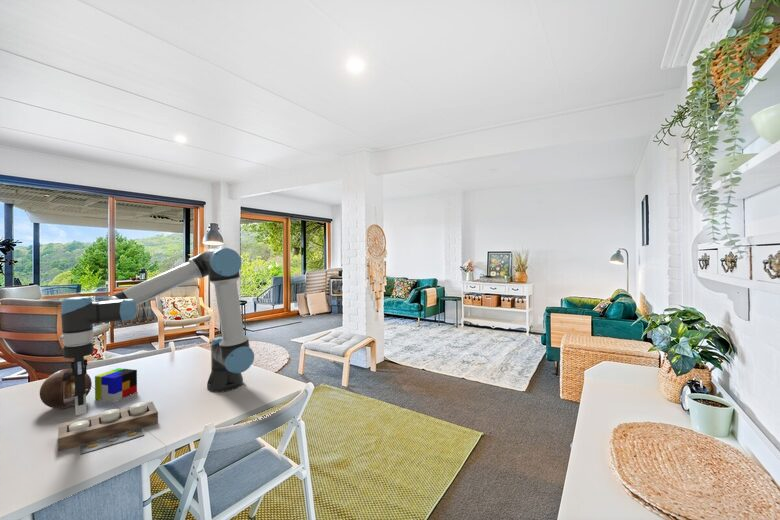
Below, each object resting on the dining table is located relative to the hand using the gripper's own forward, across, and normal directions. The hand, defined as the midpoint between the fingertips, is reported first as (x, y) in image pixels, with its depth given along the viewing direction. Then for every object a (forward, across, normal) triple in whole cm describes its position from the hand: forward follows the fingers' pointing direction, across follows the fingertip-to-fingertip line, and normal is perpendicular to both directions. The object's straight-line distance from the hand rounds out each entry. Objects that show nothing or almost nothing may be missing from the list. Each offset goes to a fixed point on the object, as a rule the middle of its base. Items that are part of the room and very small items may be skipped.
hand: (81, 413), depth 113 cm
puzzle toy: (+9, -34, +12) cm, 37 cm away
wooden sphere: (+8, -34, -4) cm, 35 cm away
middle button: (+6, 0, +7) cm, 9 cm away
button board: (+8, +3, +7) cm, 12 cm away
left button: (+7, 0, -1) cm, 7 cm away
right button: (+6, 0, +15) cm, 17 cm away
